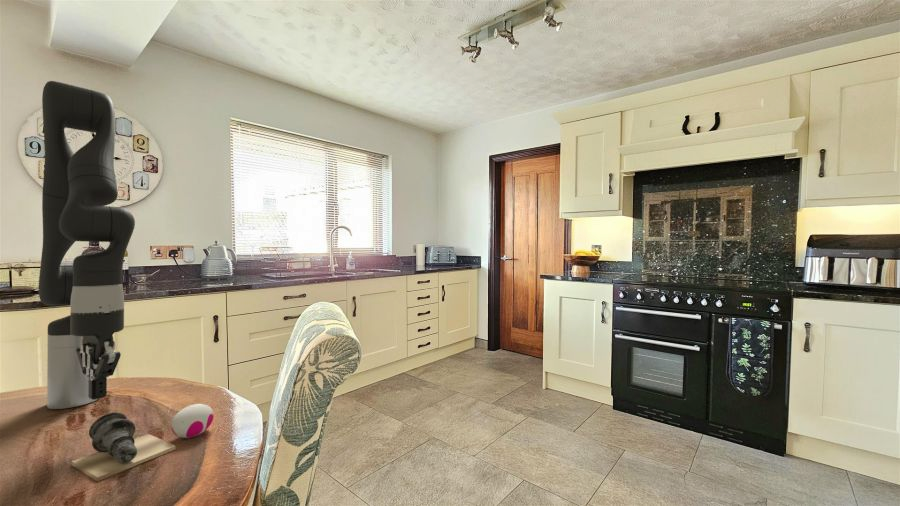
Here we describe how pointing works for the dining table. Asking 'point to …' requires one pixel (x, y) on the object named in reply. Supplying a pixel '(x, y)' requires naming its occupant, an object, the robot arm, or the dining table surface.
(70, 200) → the robot arm
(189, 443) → the dining table surface
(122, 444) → the grey chess piece
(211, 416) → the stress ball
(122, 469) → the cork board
